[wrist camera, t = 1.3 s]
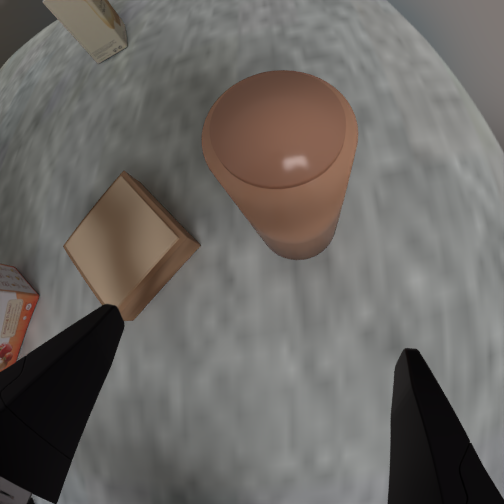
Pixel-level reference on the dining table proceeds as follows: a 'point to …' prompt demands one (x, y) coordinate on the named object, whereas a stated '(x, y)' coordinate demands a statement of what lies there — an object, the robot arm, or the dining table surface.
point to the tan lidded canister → (284, 157)
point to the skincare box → (91, 25)
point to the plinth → (129, 247)
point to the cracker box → (14, 313)
